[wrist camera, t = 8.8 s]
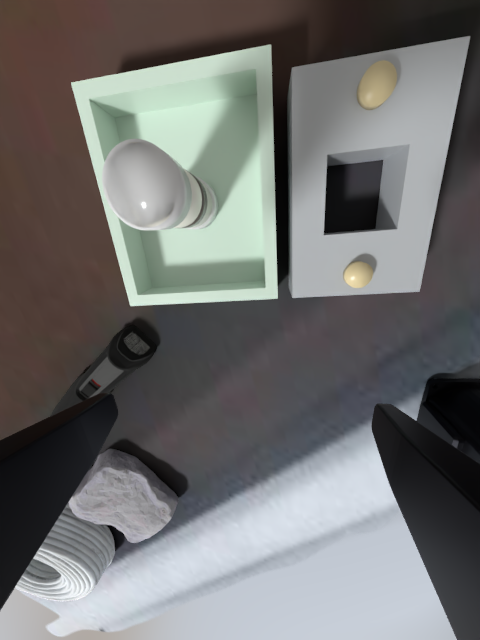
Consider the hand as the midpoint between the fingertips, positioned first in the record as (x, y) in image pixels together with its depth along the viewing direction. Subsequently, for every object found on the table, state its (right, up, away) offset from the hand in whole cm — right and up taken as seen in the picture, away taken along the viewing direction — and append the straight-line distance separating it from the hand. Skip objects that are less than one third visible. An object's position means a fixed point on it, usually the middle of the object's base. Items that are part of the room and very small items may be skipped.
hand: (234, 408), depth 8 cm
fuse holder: (+8, +11, +8) cm, 16 cm away
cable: (-27, -29, +28) cm, 48 cm away
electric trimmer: (-14, -3, +17) cm, 22 cm away
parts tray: (-3, +11, +9) cm, 15 cm away
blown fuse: (-3, +11, +9) cm, 15 cm away
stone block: (-13, -18, +23) cm, 32 cm away
